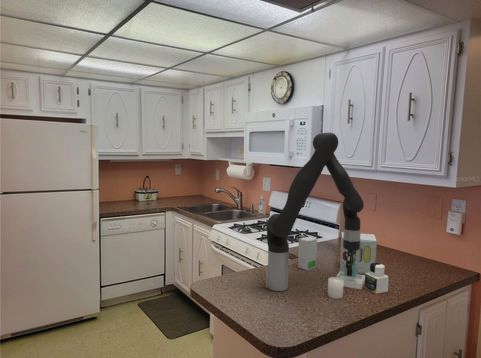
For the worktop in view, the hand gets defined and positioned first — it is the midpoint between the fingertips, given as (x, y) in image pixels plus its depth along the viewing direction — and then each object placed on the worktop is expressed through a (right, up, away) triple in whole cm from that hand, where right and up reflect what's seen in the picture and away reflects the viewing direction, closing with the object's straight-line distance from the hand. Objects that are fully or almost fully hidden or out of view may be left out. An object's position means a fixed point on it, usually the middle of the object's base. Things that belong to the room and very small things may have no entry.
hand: (350, 273), depth 167 cm
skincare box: (-17, -2, +21) cm, 27 cm away
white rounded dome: (-11, -5, -14) cm, 19 cm away
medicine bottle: (+9, -5, -8) cm, 13 cm away
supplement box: (+9, -3, +19) cm, 21 cm away
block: (0, 0, 0) cm, 0 cm away
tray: (0, -4, 0) cm, 4 cm away
